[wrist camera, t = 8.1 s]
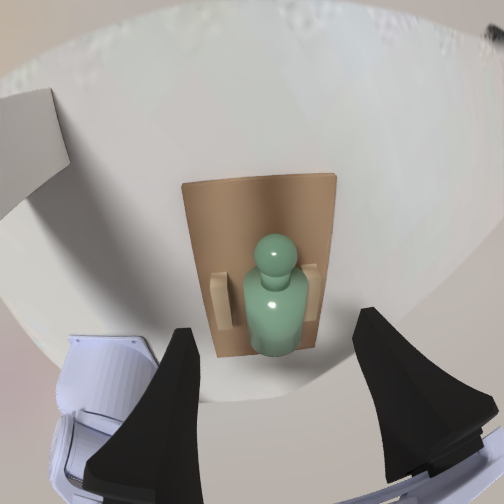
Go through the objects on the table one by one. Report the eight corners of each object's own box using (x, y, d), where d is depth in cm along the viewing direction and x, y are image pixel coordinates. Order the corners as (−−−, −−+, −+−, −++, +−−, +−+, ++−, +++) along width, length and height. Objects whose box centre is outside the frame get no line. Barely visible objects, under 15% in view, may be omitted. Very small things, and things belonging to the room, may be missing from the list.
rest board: (217, 352, 28) (217, 372, 26) (182, 183, 18) (176, 198, 16) (313, 342, 28) (318, 361, 26) (333, 173, 18) (346, 186, 16)
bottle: (258, 363, 20) (252, 265, 15) (241, 323, 24) (230, 226, 18) (310, 346, 21) (325, 247, 16) (288, 310, 25) (292, 214, 19)
